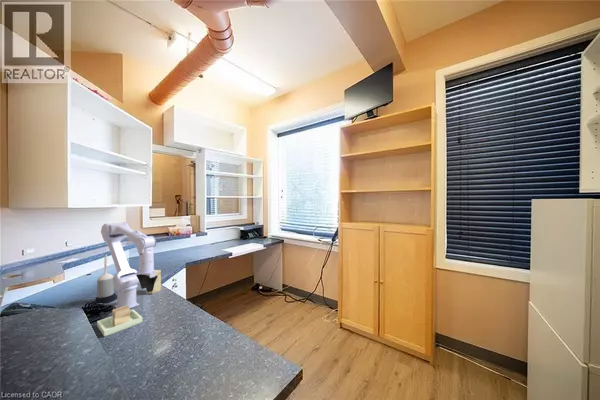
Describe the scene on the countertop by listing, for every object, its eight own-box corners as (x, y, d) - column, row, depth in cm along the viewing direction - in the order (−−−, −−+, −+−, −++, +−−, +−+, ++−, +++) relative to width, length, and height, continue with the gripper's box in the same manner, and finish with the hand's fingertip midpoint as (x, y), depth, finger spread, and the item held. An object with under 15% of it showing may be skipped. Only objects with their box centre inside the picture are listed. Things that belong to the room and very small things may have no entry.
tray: (97, 326, 91) (97, 321, 91) (133, 313, 101) (133, 309, 101) (104, 337, 84) (104, 331, 84) (142, 322, 94) (142, 317, 94)
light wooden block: (152, 294, 123) (152, 273, 124) (145, 293, 124) (145, 272, 125) (161, 290, 130) (161, 269, 130) (155, 289, 131) (155, 269, 131)
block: (112, 324, 92) (112, 309, 92) (127, 318, 96) (126, 305, 96) (115, 327, 90) (115, 312, 90) (129, 321, 94) (129, 307, 94)
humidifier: (117, 296, 121) (117, 252, 122) (112, 302, 114) (112, 255, 114) (99, 299, 118) (99, 254, 118) (92, 305, 110) (92, 257, 111)
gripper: (131, 261, 105) (132, 289, 105) (141, 265, 96) (142, 296, 96) (148, 258, 111) (148, 284, 111) (159, 262, 102) (160, 290, 102)
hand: (147, 289), depth 104 cm, fingers open, 7 cm apart
